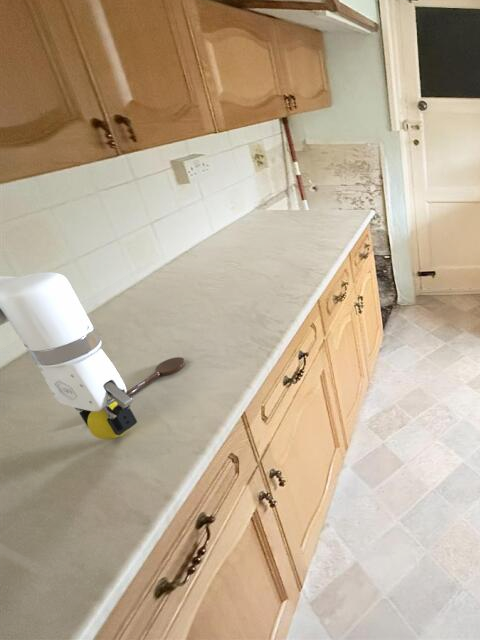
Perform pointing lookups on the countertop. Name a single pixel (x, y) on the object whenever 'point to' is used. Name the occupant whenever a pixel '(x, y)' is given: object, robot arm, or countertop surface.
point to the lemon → (101, 424)
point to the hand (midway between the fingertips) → (113, 424)
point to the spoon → (160, 373)
